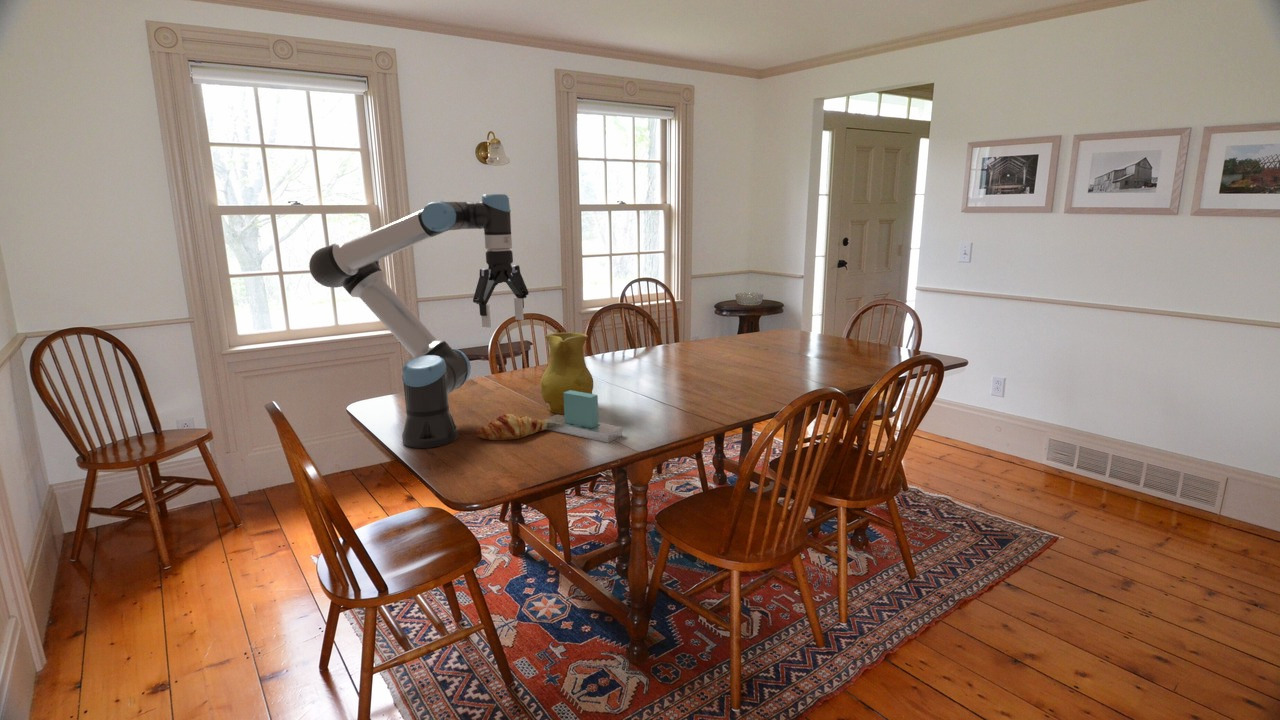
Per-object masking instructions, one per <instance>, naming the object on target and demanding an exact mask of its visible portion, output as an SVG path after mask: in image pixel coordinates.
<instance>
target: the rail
mask: <svg viewBox="0 0 1280 720" xmlns="http://www.w3.org/2000/svg"><path fill="white" fill-rule="evenodd" d="M542 421H543V422H546V423H547V427H546V429H545V430H548V431H552V432H557V433H562V434H566V435H571V436H573V437H574V436H576V437H580V438H583V439H584V438H585V439H589V440H593V441H598V442H602V443H608V444H609V443H611V442H612V441H615V440H617V439H618V438H621V437H622V436H623V430H622V429H623V427H622V426H618V425H612V424H608V423H602V422H598V426H596V427H595V428H593V429H588V428H586V427H583V426H578V425H569V424H567V423H565V418H564V414H557V413H556V414H554V415H552V416H550V417H548V418H546V419H542Z"/></svg>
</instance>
